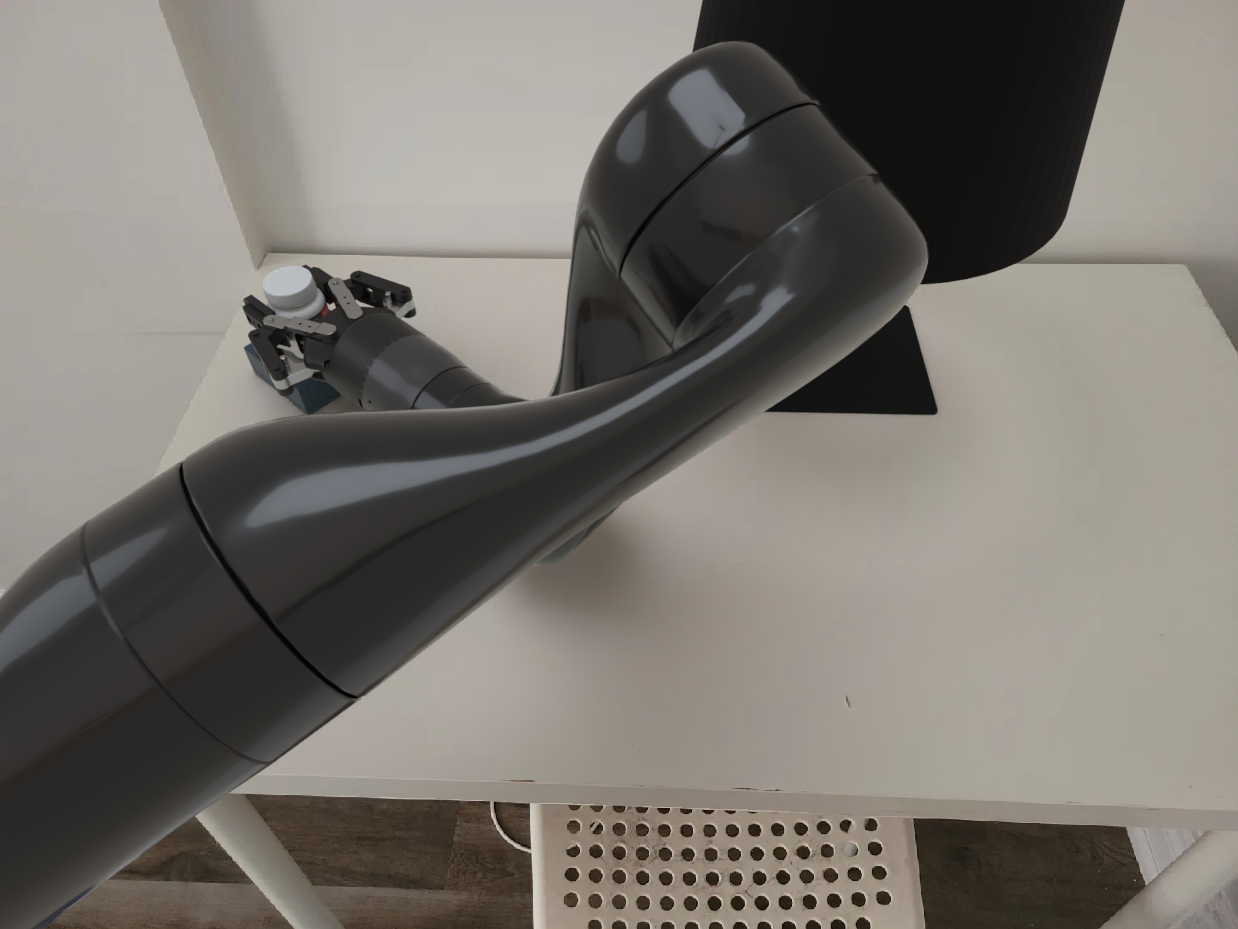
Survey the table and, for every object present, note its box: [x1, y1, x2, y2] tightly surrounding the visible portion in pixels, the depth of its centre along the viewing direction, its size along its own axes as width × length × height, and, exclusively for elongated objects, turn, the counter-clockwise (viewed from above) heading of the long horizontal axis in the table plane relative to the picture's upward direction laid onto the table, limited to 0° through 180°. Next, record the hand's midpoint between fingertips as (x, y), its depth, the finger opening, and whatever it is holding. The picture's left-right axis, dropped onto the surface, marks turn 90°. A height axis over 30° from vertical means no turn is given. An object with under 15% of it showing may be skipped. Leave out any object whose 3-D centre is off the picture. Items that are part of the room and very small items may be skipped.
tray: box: [243, 308, 342, 415], centre depth 78 cm, size 8×8×3 cm
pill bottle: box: [261, 265, 330, 363], centre depth 75 cm, size 5×5×8 cm
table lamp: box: [691, 0, 1126, 416], centre depth 61 cm, size 26×28×40 cm
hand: (277, 290), depth 74 cm, fingers closed on pill bottle, 4 cm apart
